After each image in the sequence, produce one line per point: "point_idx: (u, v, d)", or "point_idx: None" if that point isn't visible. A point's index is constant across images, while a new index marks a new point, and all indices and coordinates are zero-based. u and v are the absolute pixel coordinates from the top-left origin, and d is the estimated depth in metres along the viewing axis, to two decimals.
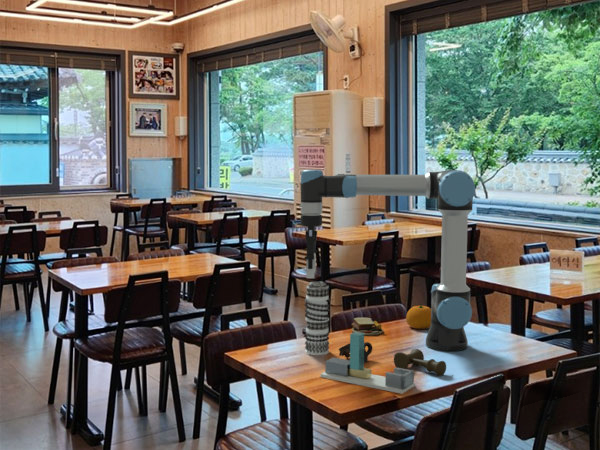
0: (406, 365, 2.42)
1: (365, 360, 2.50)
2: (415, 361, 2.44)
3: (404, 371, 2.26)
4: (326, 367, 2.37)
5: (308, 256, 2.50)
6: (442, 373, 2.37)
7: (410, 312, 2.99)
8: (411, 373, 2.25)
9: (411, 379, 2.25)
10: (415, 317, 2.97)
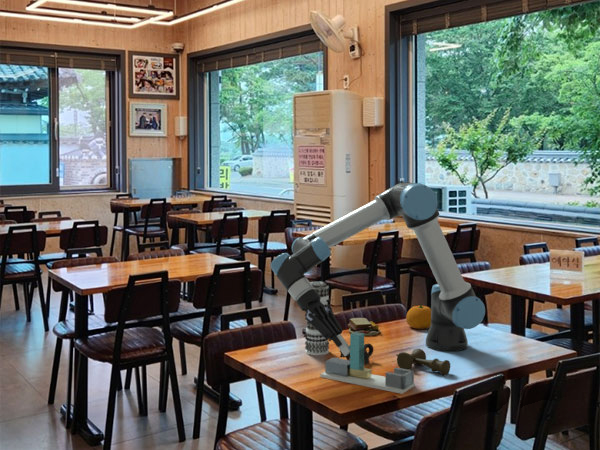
0: (410, 365, 2.42)
1: (366, 361, 2.49)
2: (418, 361, 2.44)
3: (404, 371, 2.26)
4: (326, 367, 2.37)
5: (327, 337, 2.34)
6: (447, 372, 2.38)
7: (410, 312, 2.99)
8: (411, 373, 2.25)
9: (411, 379, 2.25)
10: (415, 317, 2.97)
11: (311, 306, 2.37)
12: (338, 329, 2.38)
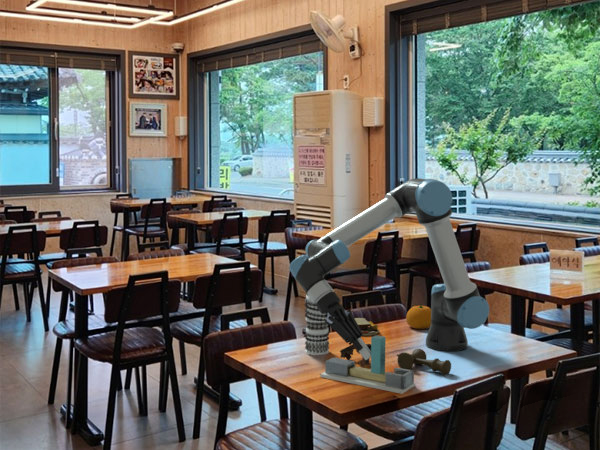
0: (411, 365, 2.42)
1: (367, 362, 2.48)
2: (419, 361, 2.44)
3: (404, 371, 2.26)
4: (326, 367, 2.37)
5: (347, 341, 2.30)
6: (447, 372, 2.38)
7: (410, 312, 2.99)
8: (411, 373, 2.25)
9: (411, 379, 2.25)
10: (415, 317, 2.97)
11: (331, 309, 2.33)
12: (358, 332, 2.33)
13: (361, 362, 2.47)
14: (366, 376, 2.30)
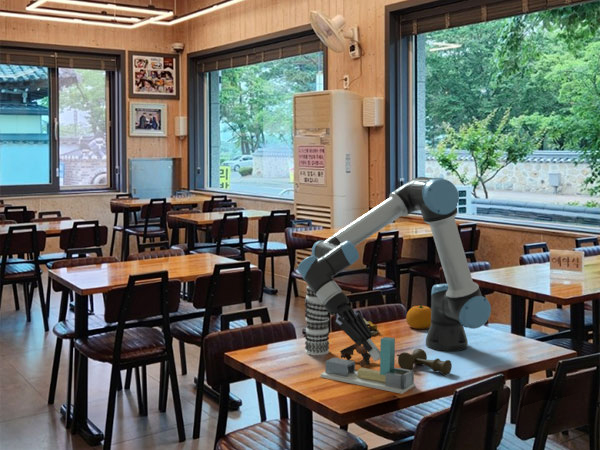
0: (411, 365, 2.42)
1: (367, 362, 2.48)
2: (419, 361, 2.44)
3: (404, 371, 2.26)
4: (326, 367, 2.37)
5: (357, 342, 2.28)
6: (448, 372, 2.38)
7: (410, 312, 2.99)
8: (411, 373, 2.25)
9: (411, 379, 2.25)
10: (415, 317, 2.97)
11: (340, 310, 2.32)
12: (368, 333, 2.32)
13: (361, 362, 2.46)
14: (375, 378, 2.28)
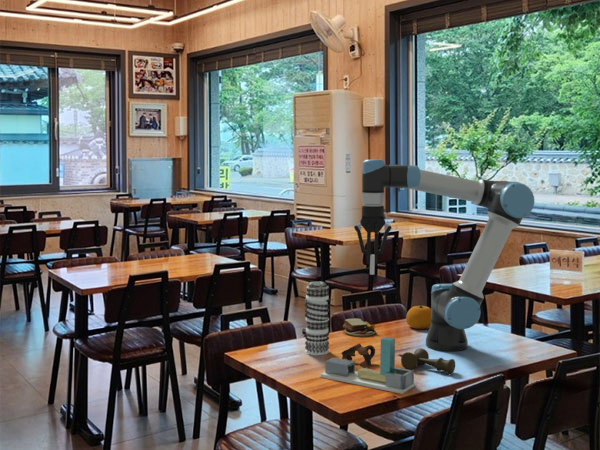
0: (415, 365, 2.42)
1: (369, 363, 2.46)
2: (423, 360, 2.45)
3: (404, 371, 2.26)
4: (326, 367, 2.37)
5: None
6: (452, 371, 2.40)
7: (410, 312, 2.99)
8: (411, 373, 2.25)
9: (411, 379, 2.25)
10: (415, 317, 2.97)
11: (365, 220, 2.52)
12: (377, 250, 2.52)
13: (363, 364, 2.45)
14: (375, 378, 2.28)
